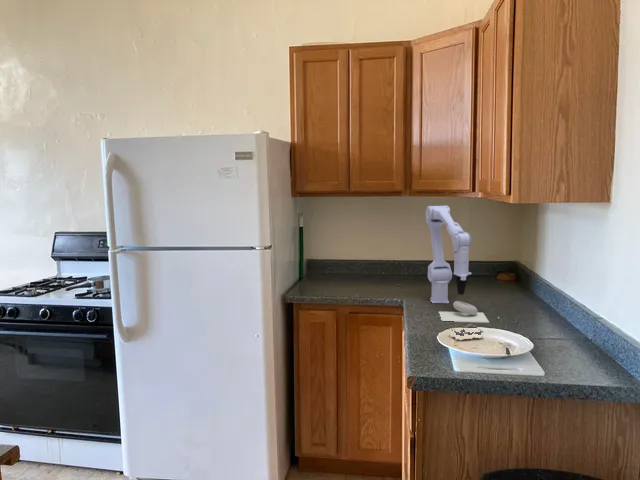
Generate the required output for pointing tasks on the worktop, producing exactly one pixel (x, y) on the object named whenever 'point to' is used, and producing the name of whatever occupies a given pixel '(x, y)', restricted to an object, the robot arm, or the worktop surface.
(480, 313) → the mat
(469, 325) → the egg carton
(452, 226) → the robot arm
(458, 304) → the donut
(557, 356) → the worktop surface
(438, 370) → the worktop surface
